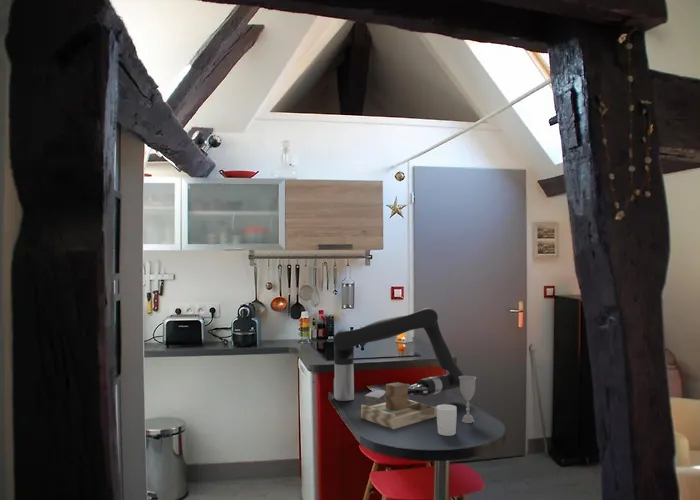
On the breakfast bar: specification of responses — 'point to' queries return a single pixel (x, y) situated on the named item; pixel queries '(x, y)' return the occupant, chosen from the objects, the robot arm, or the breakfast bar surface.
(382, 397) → the decorative stone
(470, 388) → the chalice
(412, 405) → the box
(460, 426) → the breakfast bar surface
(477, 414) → the breakfast bar surface
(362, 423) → the breakfast bar surface
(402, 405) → the walnut block
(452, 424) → the white cup
